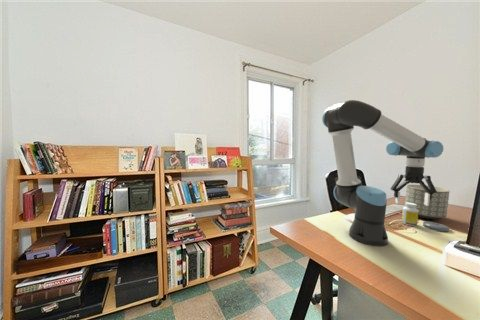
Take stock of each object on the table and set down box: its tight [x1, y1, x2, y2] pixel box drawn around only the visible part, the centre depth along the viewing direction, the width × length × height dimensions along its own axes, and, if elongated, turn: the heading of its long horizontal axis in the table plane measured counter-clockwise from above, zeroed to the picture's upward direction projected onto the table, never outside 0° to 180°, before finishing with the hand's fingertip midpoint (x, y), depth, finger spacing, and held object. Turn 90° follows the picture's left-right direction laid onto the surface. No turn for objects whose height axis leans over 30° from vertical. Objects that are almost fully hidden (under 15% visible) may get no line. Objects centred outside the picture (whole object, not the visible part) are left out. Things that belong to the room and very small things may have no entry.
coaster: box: [422, 221, 451, 233], centre depth 105 cm, size 10×10×2 cm
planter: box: [404, 184, 450, 220], centre depth 121 cm, size 19×19×18 cm
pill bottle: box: [401, 202, 419, 227], centre depth 109 cm, size 6×6×12 cm
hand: (411, 204), depth 109 cm, fingers open, 13 cm apart
